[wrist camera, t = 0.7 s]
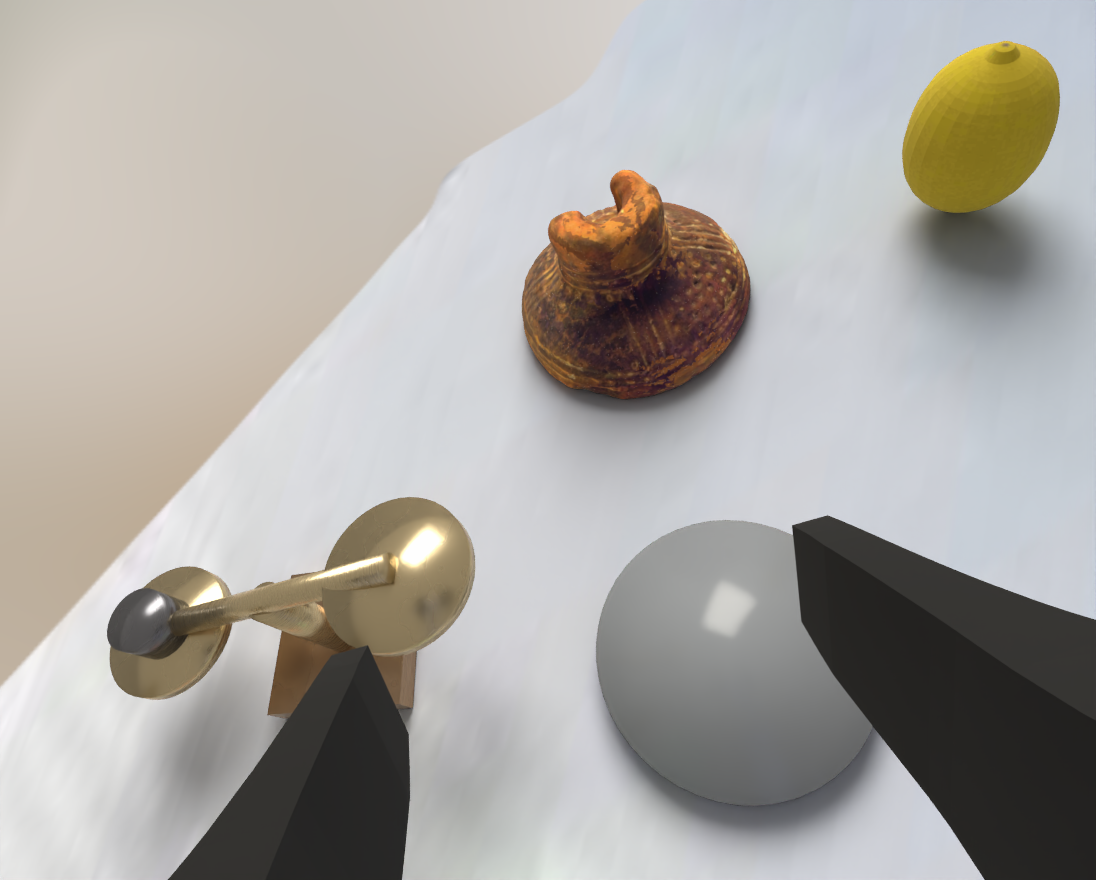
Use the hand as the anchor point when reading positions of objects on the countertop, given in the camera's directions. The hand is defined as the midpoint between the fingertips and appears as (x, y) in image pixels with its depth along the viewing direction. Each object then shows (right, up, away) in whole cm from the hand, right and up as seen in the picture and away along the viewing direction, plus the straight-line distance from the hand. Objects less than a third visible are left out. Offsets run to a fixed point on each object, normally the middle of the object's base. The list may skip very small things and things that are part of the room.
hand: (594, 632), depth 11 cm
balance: (-9, -6, +18) cm, 21 cm away
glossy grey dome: (+6, -5, +14) cm, 16 cm away
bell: (+4, +10, +24) cm, 26 cm away
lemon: (+19, +14, +21) cm, 32 cm away
